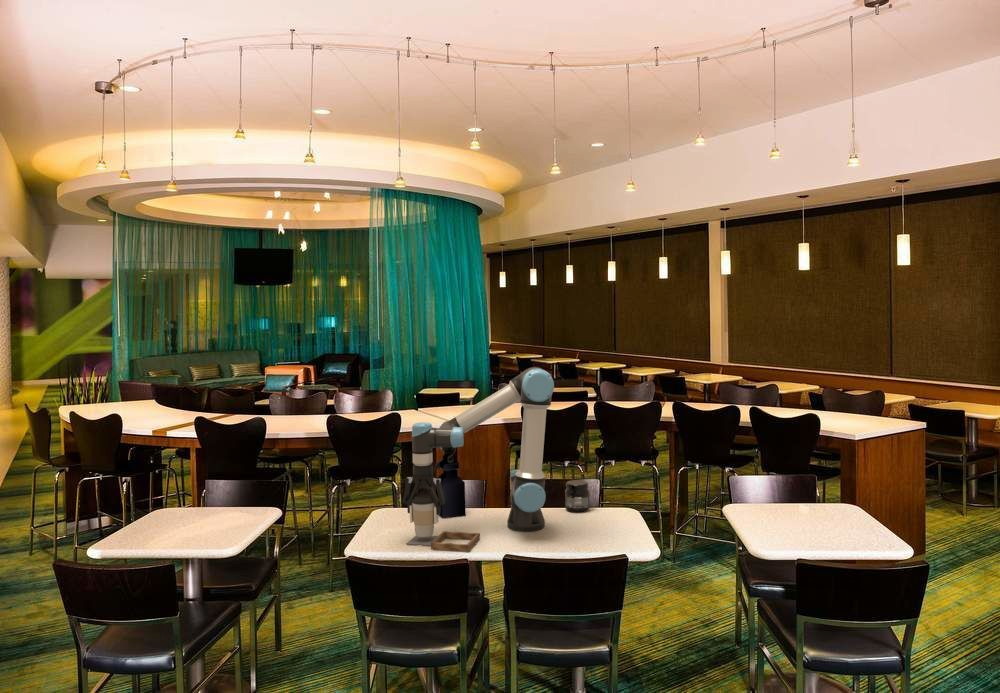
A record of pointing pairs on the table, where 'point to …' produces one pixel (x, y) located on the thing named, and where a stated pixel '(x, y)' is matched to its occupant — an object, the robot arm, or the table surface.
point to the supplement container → (577, 496)
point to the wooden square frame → (455, 547)
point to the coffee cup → (423, 515)
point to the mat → (422, 540)
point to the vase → (451, 486)
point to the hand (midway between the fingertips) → (424, 522)
